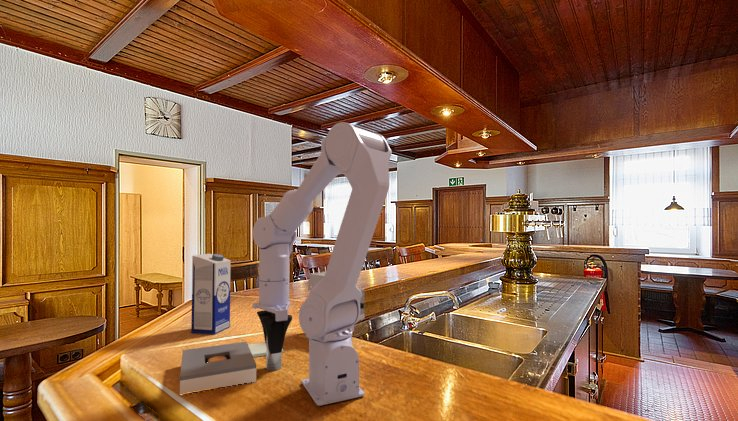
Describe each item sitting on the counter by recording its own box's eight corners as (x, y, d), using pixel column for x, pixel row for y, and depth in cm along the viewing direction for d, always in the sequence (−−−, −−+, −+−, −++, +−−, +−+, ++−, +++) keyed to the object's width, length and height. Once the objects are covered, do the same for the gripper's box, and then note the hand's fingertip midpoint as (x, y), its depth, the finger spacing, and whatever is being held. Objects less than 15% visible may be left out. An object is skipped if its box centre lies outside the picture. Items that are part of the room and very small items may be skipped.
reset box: (256, 381, 64) (256, 364, 64) (179, 395, 59) (179, 377, 59) (246, 355, 77) (246, 341, 77) (182, 365, 72) (182, 350, 72)
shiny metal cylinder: (282, 369, 70) (282, 321, 70) (267, 371, 69) (268, 323, 69) (279, 364, 72) (279, 318, 73) (265, 366, 71) (265, 320, 71)
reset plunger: (227, 365, 67) (227, 360, 67) (208, 368, 66) (208, 363, 66) (226, 359, 70) (226, 355, 70) (207, 362, 69) (207, 357, 69)
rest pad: (283, 352, 79) (283, 349, 79) (249, 357, 76) (249, 355, 76) (276, 343, 85) (277, 340, 85) (245, 347, 82) (245, 344, 82)
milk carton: (208, 325, 100) (209, 252, 101) (230, 326, 99) (231, 253, 99) (190, 333, 93) (191, 254, 94) (214, 334, 92) (215, 255, 92)
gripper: (248, 276, 76) (247, 341, 75) (258, 286, 63) (258, 366, 62) (282, 273, 79) (281, 337, 78) (299, 283, 66) (298, 359, 65)
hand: (273, 350), depth 71 cm, fingers closed on shiny metal cylinder, 3 cm apart
